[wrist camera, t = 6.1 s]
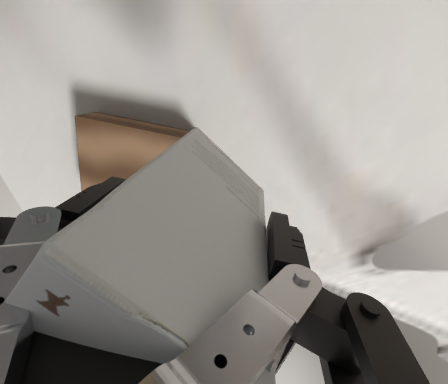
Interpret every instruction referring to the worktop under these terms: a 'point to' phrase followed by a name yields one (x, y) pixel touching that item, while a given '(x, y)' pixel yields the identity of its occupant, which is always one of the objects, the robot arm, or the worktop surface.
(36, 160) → the worktop surface
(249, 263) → the skincare box
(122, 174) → the base
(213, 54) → the worktop surface
